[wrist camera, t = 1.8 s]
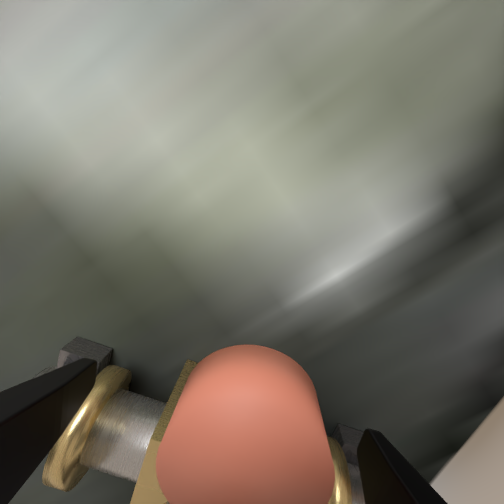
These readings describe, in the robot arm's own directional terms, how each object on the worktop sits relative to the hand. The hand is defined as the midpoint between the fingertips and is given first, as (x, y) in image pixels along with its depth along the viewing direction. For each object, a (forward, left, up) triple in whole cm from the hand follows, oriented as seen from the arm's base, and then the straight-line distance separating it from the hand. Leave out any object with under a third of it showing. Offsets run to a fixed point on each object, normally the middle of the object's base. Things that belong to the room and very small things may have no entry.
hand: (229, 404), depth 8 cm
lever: (-3, -1, -2) cm, 4 cm away
